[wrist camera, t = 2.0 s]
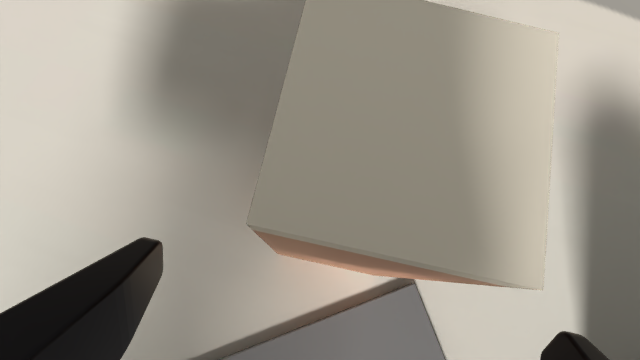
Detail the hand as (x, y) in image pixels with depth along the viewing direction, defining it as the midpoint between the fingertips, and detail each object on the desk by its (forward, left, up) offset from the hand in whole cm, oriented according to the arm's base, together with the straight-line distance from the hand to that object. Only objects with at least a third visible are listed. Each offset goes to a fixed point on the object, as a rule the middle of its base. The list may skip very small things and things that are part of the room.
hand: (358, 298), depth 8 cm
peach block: (+2, +3, -11) cm, 11 cm away
